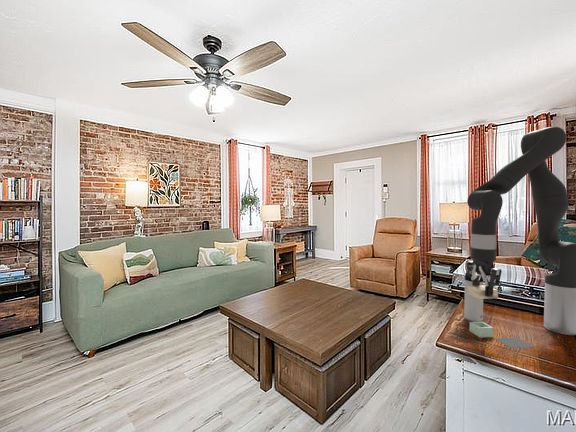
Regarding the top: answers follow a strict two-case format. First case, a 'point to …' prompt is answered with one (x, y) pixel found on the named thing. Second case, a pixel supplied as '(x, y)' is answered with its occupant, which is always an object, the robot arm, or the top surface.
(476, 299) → the travel mug
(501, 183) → the robot arm
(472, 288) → the lid
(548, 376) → the top surface
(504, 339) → the mat
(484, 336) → the mint green open box
